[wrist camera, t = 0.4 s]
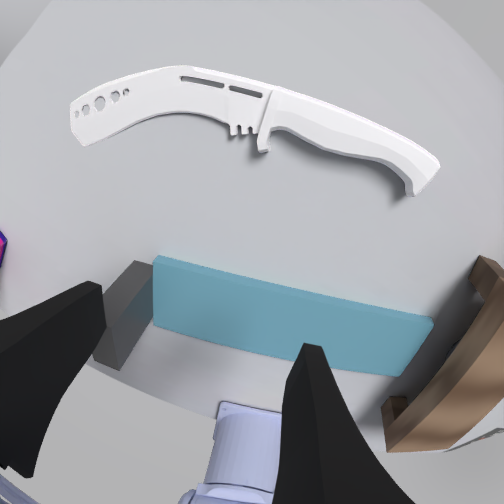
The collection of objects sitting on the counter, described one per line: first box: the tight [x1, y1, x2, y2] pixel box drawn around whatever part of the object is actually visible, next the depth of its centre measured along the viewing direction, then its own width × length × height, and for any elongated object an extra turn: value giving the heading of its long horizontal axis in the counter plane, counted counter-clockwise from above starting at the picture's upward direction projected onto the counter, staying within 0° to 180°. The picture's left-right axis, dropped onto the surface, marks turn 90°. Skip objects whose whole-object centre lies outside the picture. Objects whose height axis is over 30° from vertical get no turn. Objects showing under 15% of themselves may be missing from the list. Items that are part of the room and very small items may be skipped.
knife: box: [70, 65, 440, 197], centre depth 16 cm, size 30×2×8 cm
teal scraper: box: [92, 255, 434, 377], centre depth 19 cm, size 6×23×7 cm, turn 79°
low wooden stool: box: [381, 255, 504, 453], centre depth 18 cm, size 18×8×6 cm, turn 170°
